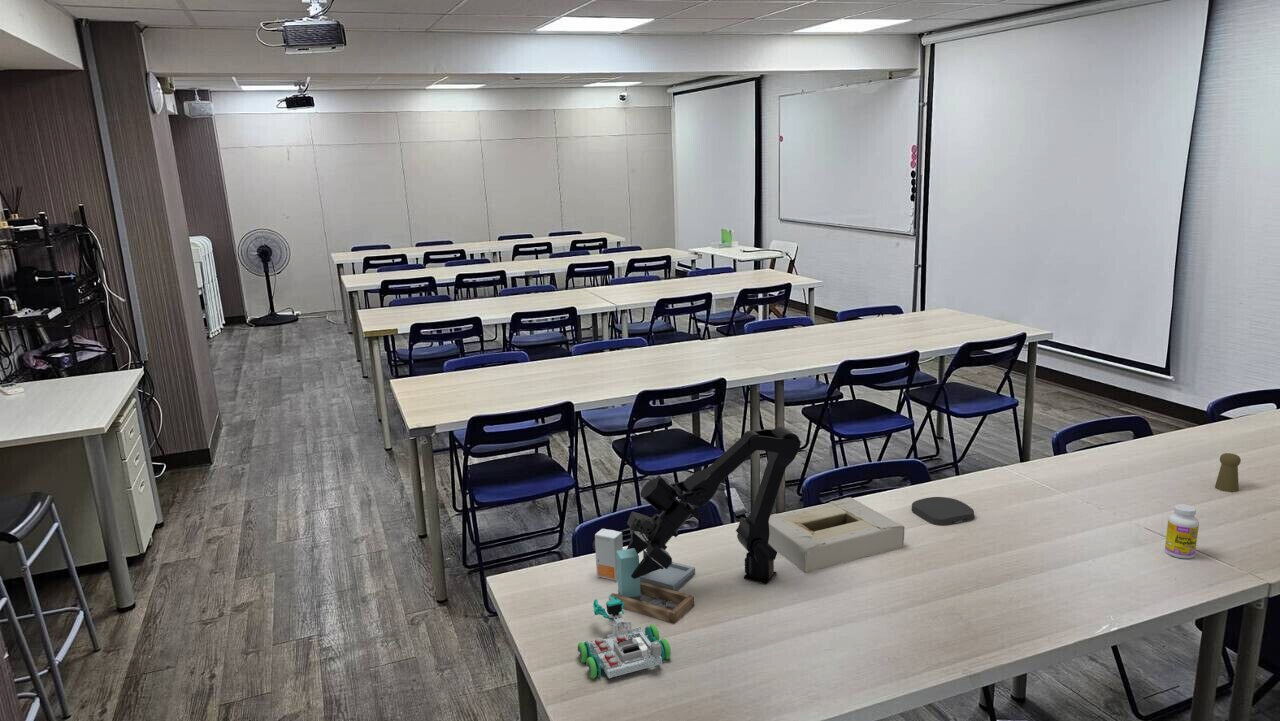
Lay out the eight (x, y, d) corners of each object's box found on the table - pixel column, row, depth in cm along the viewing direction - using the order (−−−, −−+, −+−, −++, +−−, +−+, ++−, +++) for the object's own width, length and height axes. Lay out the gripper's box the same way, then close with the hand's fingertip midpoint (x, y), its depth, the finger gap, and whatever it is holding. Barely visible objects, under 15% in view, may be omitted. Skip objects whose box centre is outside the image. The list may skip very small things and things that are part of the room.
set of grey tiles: (688, 607, 200) (688, 603, 200) (673, 620, 194) (673, 616, 194) (656, 598, 205) (656, 595, 204) (641, 611, 199) (641, 607, 199)
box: (805, 576, 214) (905, 548, 227) (805, 548, 213) (905, 522, 225) (757, 542, 235) (851, 519, 248) (757, 516, 234) (851, 494, 246)
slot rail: (694, 605, 201) (693, 596, 200) (674, 623, 193) (673, 613, 193) (631, 587, 210) (631, 578, 210) (610, 604, 203) (609, 595, 202)
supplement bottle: (1169, 558, 214) (1174, 511, 211) (1160, 547, 221) (1165, 501, 218) (1199, 560, 213) (1204, 513, 210) (1189, 549, 219) (1194, 503, 216)
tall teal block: (636, 592, 208) (634, 548, 205) (641, 601, 204) (639, 556, 201) (618, 595, 207) (616, 550, 204) (622, 604, 203) (620, 558, 200)
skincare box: (596, 577, 217) (593, 534, 214) (604, 570, 221) (602, 527, 218) (616, 581, 214) (614, 538, 212) (624, 574, 218) (622, 531, 215)
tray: (695, 574, 216) (695, 567, 216) (673, 593, 207) (673, 585, 207) (659, 565, 222) (658, 558, 222) (636, 582, 213) (635, 575, 213)
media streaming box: (906, 509, 252) (906, 500, 251) (947, 502, 256) (947, 493, 255) (936, 528, 238) (937, 518, 237) (979, 520, 242) (980, 510, 242)
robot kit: (636, 613, 199) (634, 577, 197) (678, 668, 176) (677, 628, 174) (560, 631, 193) (558, 594, 191) (595, 691, 170) (592, 649, 168)
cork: (1218, 491, 255) (1222, 457, 253) (1211, 484, 261) (1215, 450, 258) (1241, 492, 253) (1246, 458, 251) (1234, 485, 259) (1238, 451, 256)
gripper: (637, 488, 210) (595, 535, 210) (657, 516, 192) (612, 567, 192) (668, 513, 214) (627, 559, 213) (690, 543, 196) (646, 594, 196)
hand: (627, 569), depth 204 cm, fingers open, 9 cm apart
